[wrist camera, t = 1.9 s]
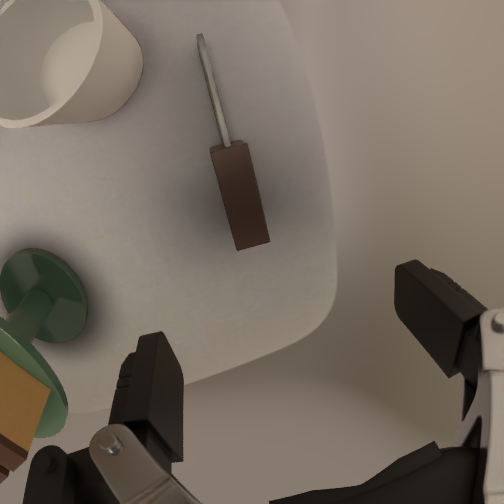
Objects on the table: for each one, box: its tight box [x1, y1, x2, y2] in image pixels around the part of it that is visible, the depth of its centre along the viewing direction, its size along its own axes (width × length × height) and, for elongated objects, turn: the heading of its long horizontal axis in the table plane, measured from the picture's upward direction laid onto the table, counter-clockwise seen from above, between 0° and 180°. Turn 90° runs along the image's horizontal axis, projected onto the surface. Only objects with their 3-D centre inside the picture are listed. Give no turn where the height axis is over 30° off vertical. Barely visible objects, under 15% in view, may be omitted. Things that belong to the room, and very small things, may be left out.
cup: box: [0, 0, 143, 128], centre depth 13 cm, size 8×12×10 cm
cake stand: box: [0, 249, 88, 438], centre depth 20 cm, size 13×13×12 cm
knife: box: [197, 34, 270, 251], centre depth 21 cm, size 15×2×4 cm, turn 13°
